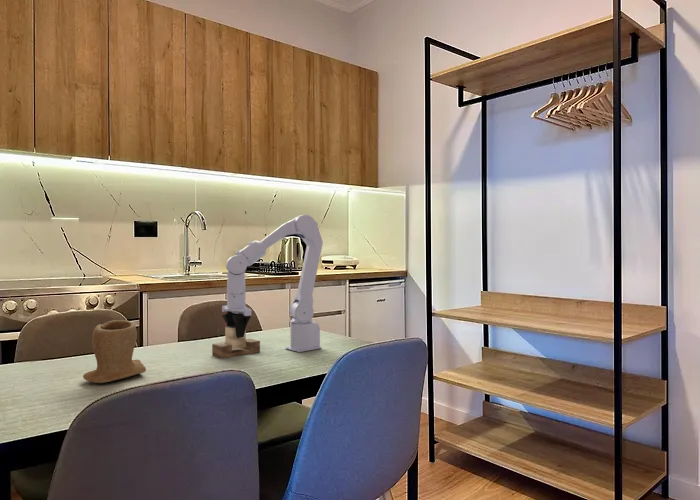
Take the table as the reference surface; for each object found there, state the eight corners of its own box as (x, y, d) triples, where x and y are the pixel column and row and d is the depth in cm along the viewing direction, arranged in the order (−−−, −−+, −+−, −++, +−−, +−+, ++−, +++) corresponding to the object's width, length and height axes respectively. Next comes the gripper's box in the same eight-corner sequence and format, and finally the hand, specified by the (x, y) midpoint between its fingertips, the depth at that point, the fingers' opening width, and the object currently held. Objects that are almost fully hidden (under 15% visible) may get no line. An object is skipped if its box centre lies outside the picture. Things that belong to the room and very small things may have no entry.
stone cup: (103, 389, 121) (102, 326, 120) (76, 382, 127) (76, 322, 127) (158, 376, 133) (158, 319, 133) (132, 369, 140) (131, 315, 140)
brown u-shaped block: (249, 349, 167) (249, 338, 167) (259, 351, 163) (259, 340, 163) (212, 355, 158) (212, 344, 158) (222, 358, 154) (221, 346, 154)
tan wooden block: (239, 345, 164) (239, 323, 164) (245, 347, 161) (245, 325, 161) (225, 347, 160) (225, 325, 160) (231, 349, 157) (231, 327, 157)
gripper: (213, 292, 163) (213, 335, 163) (237, 296, 152) (237, 341, 153) (232, 291, 168) (233, 332, 168) (257, 294, 157) (257, 338, 157)
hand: (236, 336), depth 161 cm, fingers closed on tan wooden block, 4 cm apart
